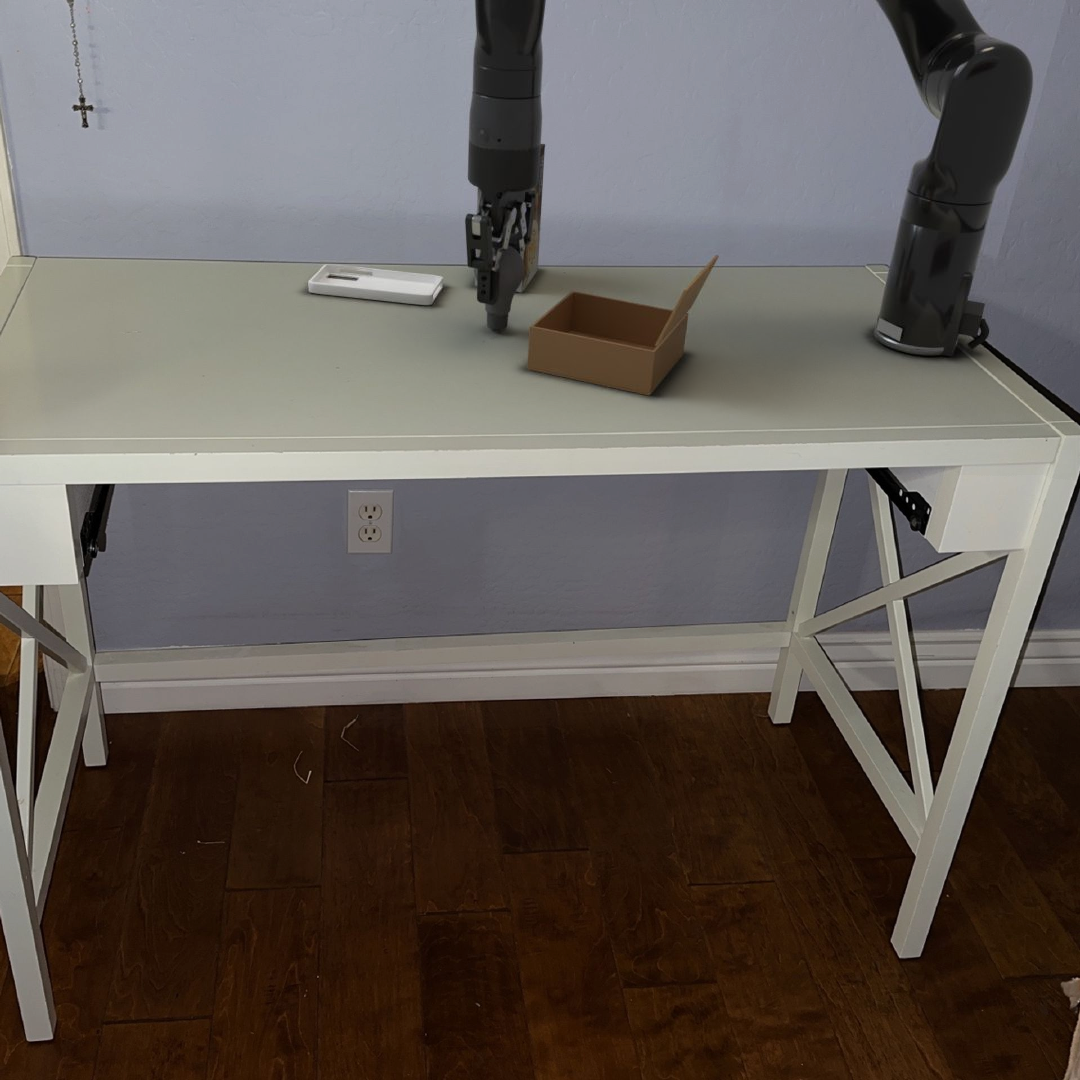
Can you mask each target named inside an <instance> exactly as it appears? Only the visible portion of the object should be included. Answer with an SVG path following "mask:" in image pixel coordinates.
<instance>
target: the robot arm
mask: <svg viewBox="0 0 1080 1080" xmlns="http://www.w3.org/2000/svg"><path fill="white" fill-rule="evenodd" d="M546 2H547V0H474V9H475V10H474V12H475V31H476V32H475V33H476V35H475V40H474V46H473V59H472V85H471V87H472V88H471V89H472V90H471V91H472V92H471V100H470V107H469V113H468V149H467V150H468V151H467V152H468V153H467V180H468V182H469V184H471V185H472V186H474V187H475V188H477V189H478V188H479V189H480V191H481V197H480V203H479V207H478V212H477V211H476V214H473V213H467V214H466V216H465V219H464V225H465V227H464V228H465V242H466V243H465V244H466V245H465V246H466V262H467V267H468V268H471V269H474V268H476V269H478V279H477V287H476V300H477V302H478V303H480V304H484V305H485V304H489V305H493V304H495V303H496V302H497V301H498V285H499V271H498V270H499V266H500V261H501V256H502V252H503V251H505V250H507V248H508V245H509V246H511V247H513V248H514V249H515V250H517V251H518V253H519V254H523V253H524V250H525V244H526V245H529V244H530V241H531V235H532V226H533V218H534V209H535V201H536V191H535V190H530V189H533V188H534V187H536V186H537V184H538V182H539V167H540V150H541V144H542V131H543V109H542V85H543V84H542V83H543V67H544V66H543V65H544V50H543V39H542V36H543V31H544V30H543V29H544V21H545V12H546ZM875 2H876V3H877V5H878V6H879V7H880V8H879V9H880V10H881V11H882V13H883V14H884V16H885V17H886V19H887V21H888V22H889V24H890V26H891V28H892V30H893V32H894V35H895V37H896V39H897V41H898V44H899V46H900V49H901V51H902V53H903V56H904V59H905V62H906V64H907V66H908V69H909V72H910V74H911V77H912V79H913V82H914V85H915V88H916V89H917V92H918V94H919V98H920V99H921V101H922V103H923V105H924V106H925V108H926V109H927V111H928V112H929V113H930V114H931V115H932V116H934V117H935V118H936V119H937V120H939V122H938V126H937V129H936V132H935V137H934V140H933V143H932V147H931V149H930V151H929V153H928V154H927V156H926V157H923V158H922V159H919V160H917V161H916V162H915V163H914V164H913V165H912V167H911V169H910V172H909V173H910V174H909V178H908V181H907V186H906V191H905V195H904V200H903V204H902V210H901V213H900V218H899V222H898V227H897V231H896V237H895V241H894V245H893V250H892V254H891V259H890V263H889V268H888V273H887V276H886V280H885V281H886V282H885V286H884V289H883V295H882V299H881V303H880V309H879V313H878V316H877V319H876V320H877V321H876V324H875V326H874V330H873V331H874V332H873V337H874V338H875V339H876V340H877V341H878V342H879V343H880V344H882V345H883V346H886V347H887V348H890V349H893V350H895V351H899V352H902V353H906V354H911V355H916V356H917V355H919V356H944V357H945V356H947V357H954V354H955V350H956V348H957V345H958V340H959V335H962V336H966V337H972V338H973V339H971V340H970V341H968V342H967V344H966V345H967V346H968V347H969V349H970V350H973V349H975V348H977V347H978V346H980V345H981V344H983V343H984V342H985V341H986V340H987V339H988V337H989V334H990V327H989V325H988V323H987V321H986V319H985V318H983V315H984V312H985V311H984V310H985V306H986V303H984V302H980V301H979V302H978V301H974V300H969V295H970V292H971V288H972V284H973V281H974V278H975V273H976V270H977V269H976V268H977V265H978V261H979V258H980V257H979V256H980V253H981V249H982V245H983V241H984V237H985V233H986V229H987V225H988V222H989V218H990V215H991V210H992V207H993V203H994V199H995V197H996V192H997V190H998V188H999V185H1000V184H1001V183H1002V181H1003V180H1004V178H1005V177H1006V175H1007V174H1008V172H1009V170H1010V168H1011V165H1012V162H1013V159H1014V156H1015V153H1016V151H1017V147H1018V143H1019V141H1020V138H1021V134H1022V132H1023V128H1024V125H1025V121H1026V117H1027V115H1028V111H1029V107H1030V104H1031V101H1032V99H1031V98H1032V94H1033V89H1034V88H1033V87H1034V71H1033V67H1032V63H1031V61H1030V59H1029V57H1028V55H1027V54H1026V53H1025V52H1024V51H1023V50H1022V49H1021V48H1020V47H1018V46H1016V45H1014V44H1012V43H1010V42H1007V41H1004V40H1001V39H998V38H995V37H994V36H991V35H988V34H987V33H986V32H985V30H984V29H983V28H982V26H981V25H980V24H979V22H978V20H976V18H975V16H974V15H973V13H972V11H971V9H970V8H969V7H968V4H967V3H966V1H965V0H875ZM492 237H493V238H499V239H500V240H499V241H492ZM476 249H477V253H476ZM492 249H494V254H493V250H492ZM979 330H980V333H979ZM978 333H979V334H978Z"/></svg>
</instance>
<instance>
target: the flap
mask: <svg viewBox="0 0 1080 1080" xmlns="http://www.w3.org/2000/svg"><path fill="white" fill-rule="evenodd" d="M719 257H720V255H718V254H716V255H715V256H714V257H713V258H712V259H711V260H710V261H709V262H708V263H707V264H706V265H705V266H704V268H702V269H701V271H700V272H699V273H698V274H697V275H696V276H695V277H694V278H693V279H692V280H691V281H690V283H689V284H688V285H687V286H686V287H685V288H684V289H683V291H682V293H681V295H680V296H679V299H678V300H677V302H676V304H675V306H674V308H673V309H672V310H673V312H672V314H671V316H670V318H669V320H668V321H667V323H666V325H665V327H664V329H663V331H662V333H661V335H660V337H659V338H658V340H657V342H656V344H655V346H657V347H658V345H659V344H660V343H661V342H662V341H663V340H664V339H665V337H666V336H667V335H668V334H669V333H670V332H671V331H672V329H673V328H674V327H675V326H676V325H677V324H678V323H679V321H680V320H681V319H682V318H683V317H684V316H685V314H686V313H689V311H690V310H691V309H692V307H693V306H694V303H695V302H696V299H697V298H698V296H699V294H700V292H701V290H702V288H703V287H704V285H705V283H706V281H707V279H708V277H709V276H710V274H711V272H712V270H713V268H714V266H715V265H716V263H717V261H718V259H719Z"/></svg>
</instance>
